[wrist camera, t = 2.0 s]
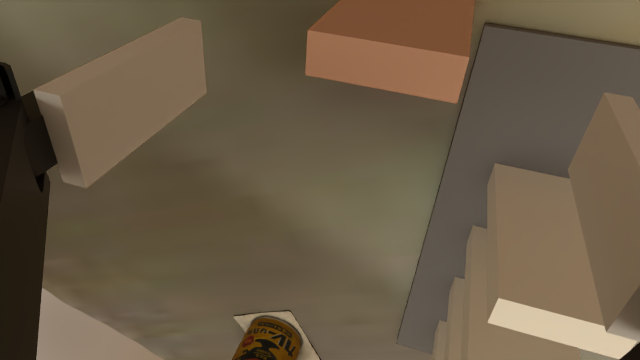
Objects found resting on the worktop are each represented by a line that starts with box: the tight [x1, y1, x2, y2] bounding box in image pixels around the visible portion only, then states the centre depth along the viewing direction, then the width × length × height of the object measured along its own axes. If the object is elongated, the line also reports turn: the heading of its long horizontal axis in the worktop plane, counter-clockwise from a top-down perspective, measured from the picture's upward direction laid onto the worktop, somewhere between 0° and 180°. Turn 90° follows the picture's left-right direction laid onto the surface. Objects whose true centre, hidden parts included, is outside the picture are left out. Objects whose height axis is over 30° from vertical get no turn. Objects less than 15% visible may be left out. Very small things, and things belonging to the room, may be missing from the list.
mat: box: [396, 23, 640, 354], centre depth 34 cm, size 11×30×1 cm, turn 176°
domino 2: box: [444, 277, 465, 360], centre depth 32 cm, size 2×6×12 cm, turn 86°
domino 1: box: [305, 0, 475, 104], centre depth 22 cm, size 2×6×12 cm, turn 86°
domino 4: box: [487, 163, 637, 359], centre depth 26 cm, size 2×6×12 cm, turn 86°
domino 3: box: [460, 226, 581, 360], centre depth 29 cm, size 2×6×12 cm, turn 86°
